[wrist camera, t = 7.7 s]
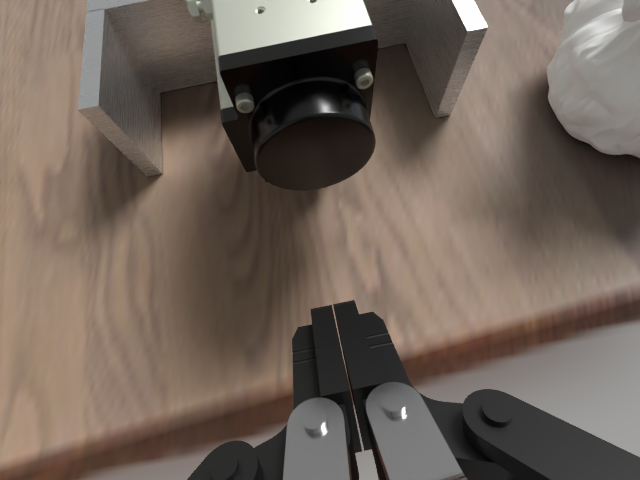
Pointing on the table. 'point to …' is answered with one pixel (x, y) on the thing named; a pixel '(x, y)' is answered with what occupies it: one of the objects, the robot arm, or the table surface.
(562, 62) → the bust
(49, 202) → the table surface
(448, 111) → the cradle
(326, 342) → the robot arm
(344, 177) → the pneumatic valve
